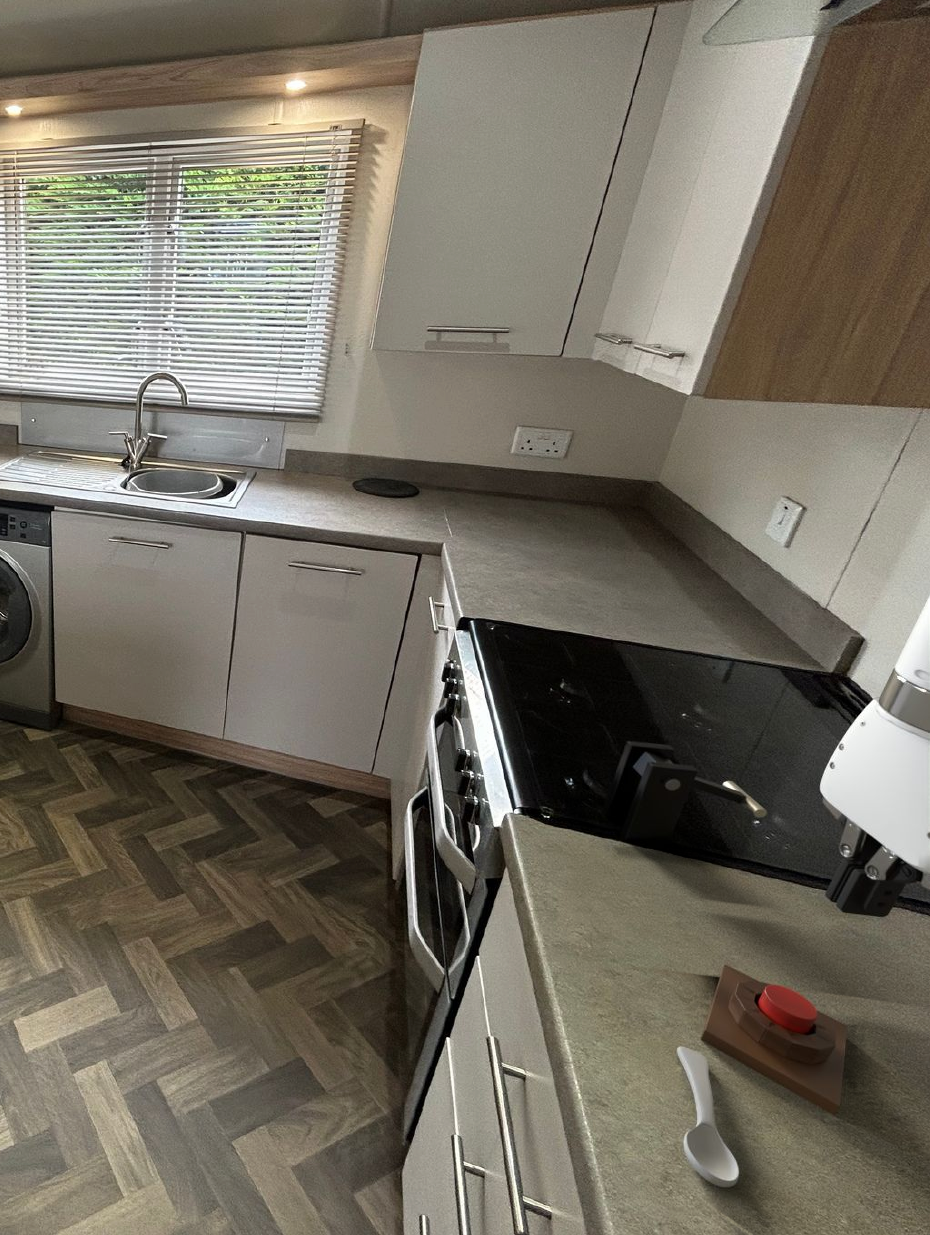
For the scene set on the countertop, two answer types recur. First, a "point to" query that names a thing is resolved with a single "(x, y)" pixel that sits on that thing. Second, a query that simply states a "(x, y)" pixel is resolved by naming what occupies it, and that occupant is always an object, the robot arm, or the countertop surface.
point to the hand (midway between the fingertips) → (854, 906)
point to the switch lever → (709, 786)
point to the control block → (776, 1042)
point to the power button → (787, 1009)
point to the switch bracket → (648, 794)
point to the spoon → (706, 1127)
